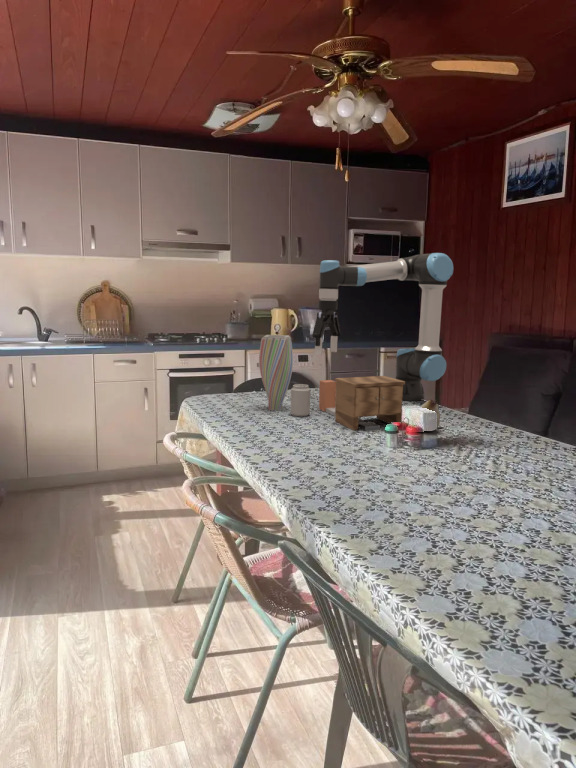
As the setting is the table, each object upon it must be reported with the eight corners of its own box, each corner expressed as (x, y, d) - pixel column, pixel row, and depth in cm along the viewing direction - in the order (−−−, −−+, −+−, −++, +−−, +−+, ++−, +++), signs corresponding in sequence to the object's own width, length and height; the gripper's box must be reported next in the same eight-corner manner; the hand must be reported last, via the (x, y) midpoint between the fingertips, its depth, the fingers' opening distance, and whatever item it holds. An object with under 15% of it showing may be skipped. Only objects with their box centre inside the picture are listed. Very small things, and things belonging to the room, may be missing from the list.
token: (371, 427, 214) (371, 421, 214) (379, 430, 209) (380, 425, 208) (356, 428, 212) (357, 422, 212) (365, 432, 206) (365, 426, 206)
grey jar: (309, 417, 226) (310, 386, 224) (290, 416, 227) (291, 386, 225) (309, 413, 234) (310, 383, 232) (290, 412, 234) (291, 383, 232)
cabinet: (382, 417, 228) (383, 375, 225) (404, 426, 214) (406, 382, 211) (333, 421, 220) (335, 378, 217) (353, 431, 206) (355, 384, 203)
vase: (289, 413, 233) (290, 337, 229) (255, 411, 236) (256, 336, 231) (294, 406, 247) (295, 335, 242) (262, 404, 249) (263, 334, 244)
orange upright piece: (318, 409, 242) (319, 380, 240) (329, 408, 244) (330, 379, 242) (352, 424, 216) (353, 392, 214) (364, 423, 218) (365, 391, 216)
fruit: (437, 435, 201) (440, 401, 200) (410, 433, 204) (412, 399, 202) (440, 429, 211) (442, 396, 209) (413, 426, 214) (415, 394, 212)
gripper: (333, 299, 245) (331, 350, 248) (304, 299, 224) (302, 354, 227) (349, 300, 241) (347, 351, 245) (322, 300, 220) (320, 356, 223)
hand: (326, 353), depth 236 cm, fingers open, 13 cm apart
